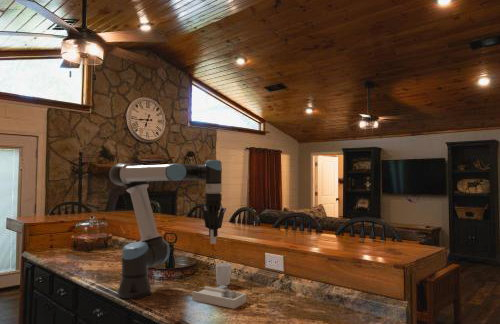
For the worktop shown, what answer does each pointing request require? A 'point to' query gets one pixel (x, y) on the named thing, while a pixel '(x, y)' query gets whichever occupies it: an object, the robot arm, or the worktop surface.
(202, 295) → the box with sliding lid
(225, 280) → the white cup
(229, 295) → the clip
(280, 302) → the worktop surface
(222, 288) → the grey tall rectangular block
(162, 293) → the worktop surface
